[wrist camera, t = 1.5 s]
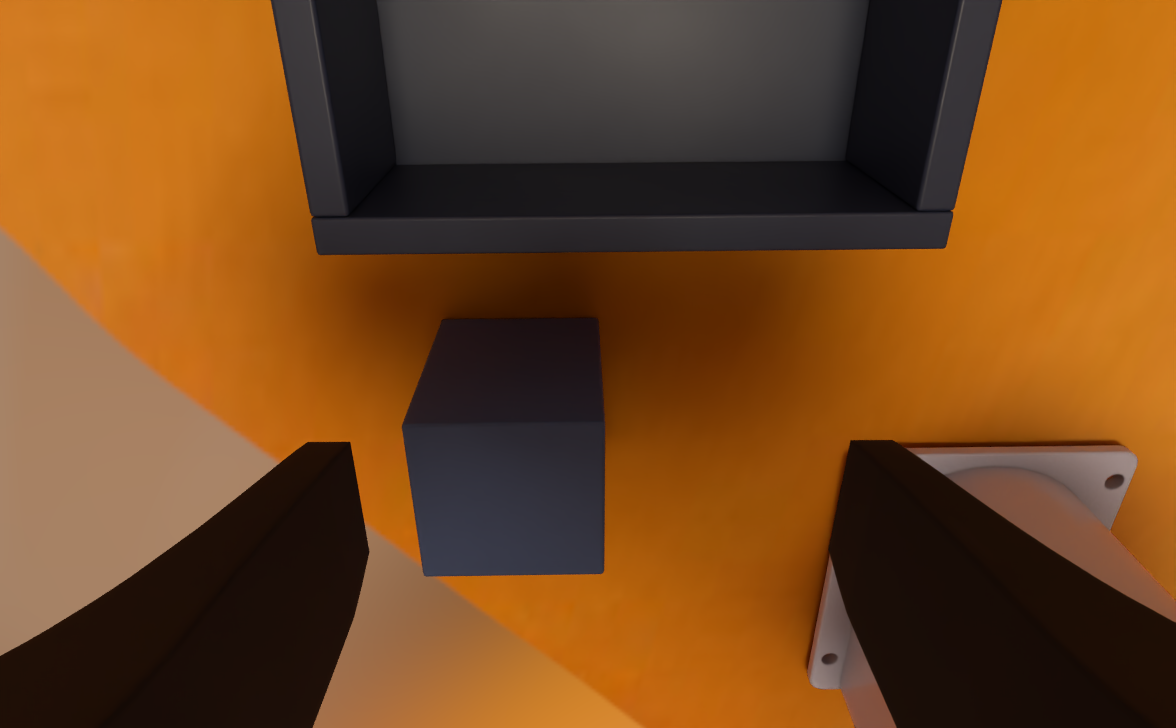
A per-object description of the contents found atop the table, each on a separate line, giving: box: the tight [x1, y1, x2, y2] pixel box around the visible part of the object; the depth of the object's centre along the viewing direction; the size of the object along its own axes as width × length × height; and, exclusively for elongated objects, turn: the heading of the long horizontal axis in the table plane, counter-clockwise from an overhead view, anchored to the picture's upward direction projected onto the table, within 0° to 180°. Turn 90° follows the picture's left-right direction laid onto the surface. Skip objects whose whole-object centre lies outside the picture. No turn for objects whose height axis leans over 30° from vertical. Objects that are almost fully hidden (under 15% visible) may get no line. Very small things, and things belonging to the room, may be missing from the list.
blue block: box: [402, 318, 605, 576], centre depth 18 cm, size 4×4×5 cm
